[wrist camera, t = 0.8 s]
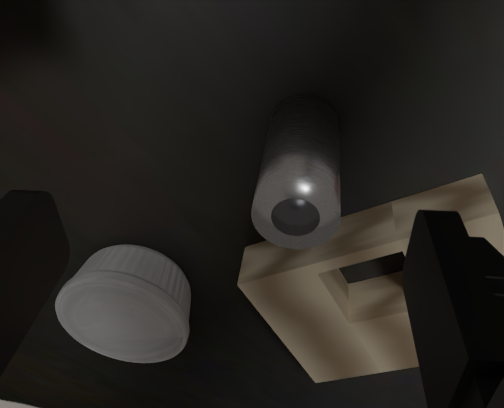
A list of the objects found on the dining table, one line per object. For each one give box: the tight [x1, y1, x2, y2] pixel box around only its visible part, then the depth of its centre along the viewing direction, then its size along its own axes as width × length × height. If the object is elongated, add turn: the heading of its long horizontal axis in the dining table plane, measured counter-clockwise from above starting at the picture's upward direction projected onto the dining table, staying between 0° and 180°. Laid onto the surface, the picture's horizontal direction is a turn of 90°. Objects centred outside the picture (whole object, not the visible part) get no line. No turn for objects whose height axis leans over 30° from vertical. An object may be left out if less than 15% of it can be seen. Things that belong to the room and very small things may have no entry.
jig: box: [237, 174, 504, 383], centre depth 36 cm, size 18×14×4 cm
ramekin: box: [55, 244, 191, 363], centre depth 40 cm, size 11×11×5 cm
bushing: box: [251, 95, 341, 249], centre depth 26 cm, size 4×4×9 cm
